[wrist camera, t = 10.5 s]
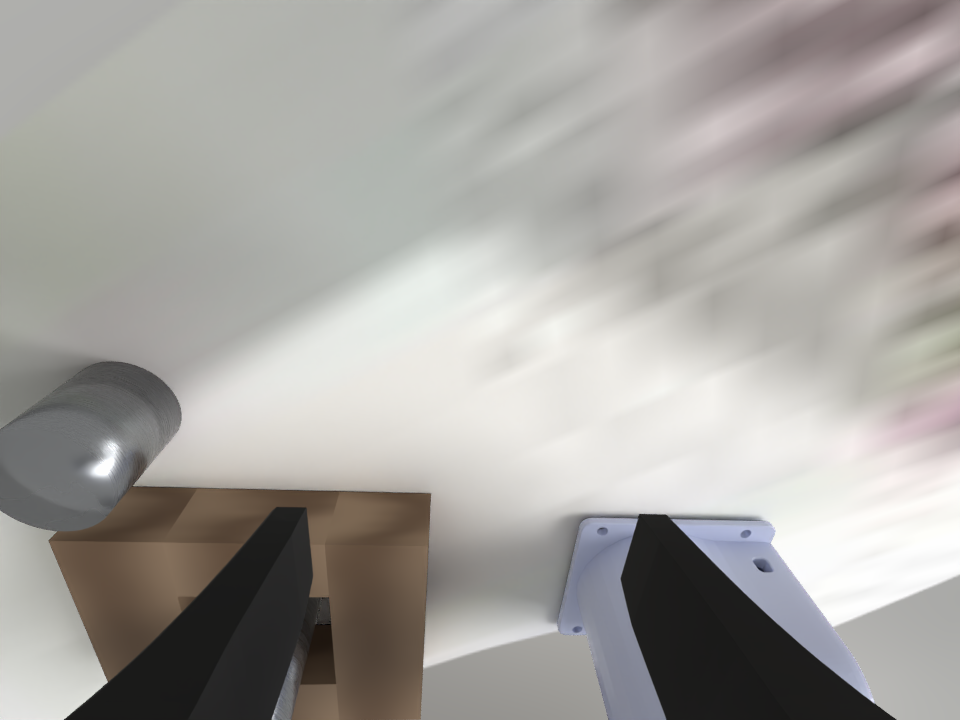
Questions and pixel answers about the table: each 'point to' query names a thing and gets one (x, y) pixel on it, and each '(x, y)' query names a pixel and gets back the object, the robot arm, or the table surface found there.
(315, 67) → the table surface
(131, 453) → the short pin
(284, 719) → the tall pin
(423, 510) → the wooden square frame
